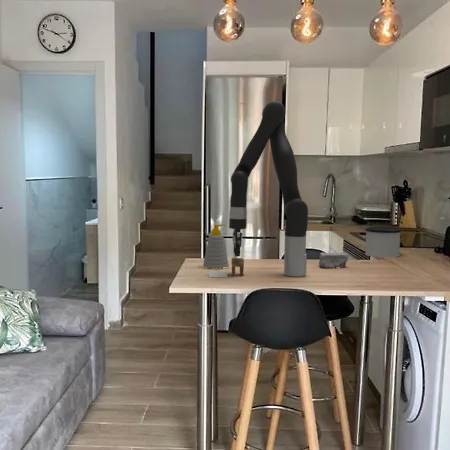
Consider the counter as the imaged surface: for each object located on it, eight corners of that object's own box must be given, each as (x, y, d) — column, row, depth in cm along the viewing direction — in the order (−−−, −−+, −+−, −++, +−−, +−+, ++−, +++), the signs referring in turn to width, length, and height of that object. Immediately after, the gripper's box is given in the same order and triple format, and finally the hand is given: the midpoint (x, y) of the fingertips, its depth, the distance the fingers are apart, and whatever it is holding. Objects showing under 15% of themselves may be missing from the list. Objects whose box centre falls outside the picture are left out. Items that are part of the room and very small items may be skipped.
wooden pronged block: (242, 273, 210) (242, 258, 209) (243, 276, 205) (243, 260, 204) (231, 273, 209) (231, 258, 209) (232, 276, 204) (232, 260, 204)
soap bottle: (224, 270, 219) (224, 225, 217) (198, 268, 223) (199, 224, 221) (232, 265, 230) (232, 223, 229) (208, 263, 234) (208, 222, 233)
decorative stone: (313, 267, 230) (326, 269, 221) (313, 252, 230) (326, 255, 221) (337, 265, 237) (350, 267, 228) (337, 251, 237) (350, 253, 228)
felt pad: (226, 272, 212) (226, 271, 212) (227, 277, 201) (227, 276, 201) (208, 272, 212) (208, 271, 212) (208, 277, 201) (208, 276, 201)
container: (365, 251, 281) (366, 226, 280) (399, 253, 275) (400, 227, 274) (364, 256, 263) (365, 229, 262) (400, 258, 257) (401, 230, 256)
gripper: (248, 219, 198) (246, 257, 199) (245, 216, 212) (244, 252, 213) (230, 218, 198) (228, 257, 199) (228, 216, 212) (227, 252, 213)
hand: (236, 254), depth 206 cm, fingers open, 8 cm apart
